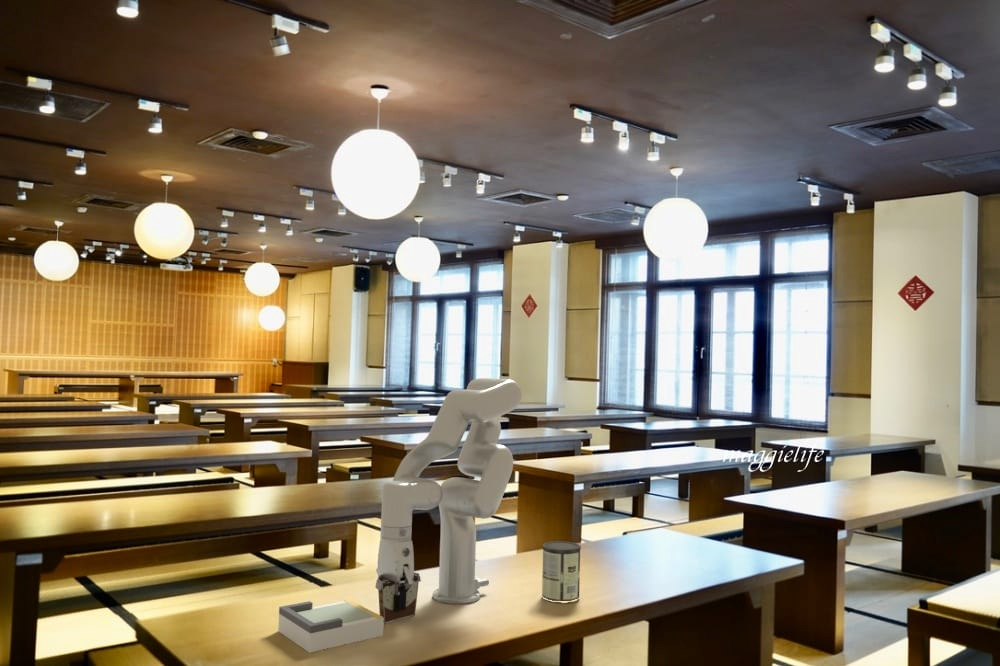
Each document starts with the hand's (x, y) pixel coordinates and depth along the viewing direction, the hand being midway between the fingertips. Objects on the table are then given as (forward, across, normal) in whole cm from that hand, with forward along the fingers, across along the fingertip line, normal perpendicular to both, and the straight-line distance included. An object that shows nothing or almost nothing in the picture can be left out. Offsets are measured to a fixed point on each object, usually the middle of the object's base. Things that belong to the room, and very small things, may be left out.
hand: (392, 606), depth 189 cm
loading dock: (+3, -2, +18) cm, 18 cm away
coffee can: (+2, -12, -45) cm, 47 cm away
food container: (+3, +1, 0) cm, 3 cm away
